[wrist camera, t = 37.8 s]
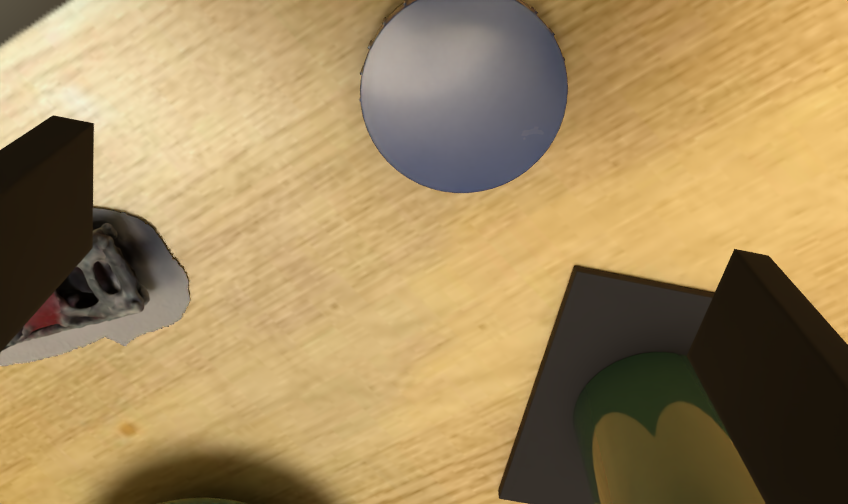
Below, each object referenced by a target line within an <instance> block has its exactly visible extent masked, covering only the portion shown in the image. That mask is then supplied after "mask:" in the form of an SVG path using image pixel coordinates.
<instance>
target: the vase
mask: <svg viewBox="0 0 848 504" xmlns="http://www.w3.org/2000/svg"><path fill="white" fill-rule="evenodd" d="M158 504H246V503H243V502H240V501H235V500H229V499H223V498H209V497H199V498H184V499H177V500H172V501H167V502H161V503H158Z"/></svg>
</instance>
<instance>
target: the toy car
mask: <svg viewBox="0 0 848 504" xmlns="http://www.w3.org/2000/svg"><path fill="white" fill-rule="evenodd" d="M144 223H145V222H143V221H141V220H140V219H138V218H136V217H133V216H129V215H126V213H125V212H122V213H119V212H117V211H114V210H113V211H110V210H106V209H97V208H93V248H92V249H91V251H90V252H89V253H88V254H87V255H86V256H85V257H84V259H83V260H82V261H81V262H80V263H79V264H78V265H77V266H76V268H75V269H74V270H73V271H72V272H71V273H70V274H69V276H68V277H67V278H66V279H65V280H64V281H63V282H62V283H61V285H60V286H59V287H58V288H57V289H56V290H55V291H54V293H53V294H52V295H51V296H50V297H49V298H48V299H47V300H46V302H45V303H44V304H43V305H42V306H41V307H40V308H39V309H38V311H37V312H36V313H35V314H34V315H33V316H32V317H31V319H30V320H29V321H28V322H27V323H26V324H25V325H24V326H23V328H22V329H21V330H20V331H19V332H18V333H17V334H16V336H15V337H14V338H13V339H12V340H11V341H10V342H9V343H8V345H7V346H6V347H5V348H4V349H3V350H2V351H1V353H0V365H1V366H8V365H13V364H14V363H18V364H19V363H27V362H28V363H29V362H31V361H32V362H33V361H37V360H42V359H44V358H49V357H52V356H58V355H61V354H63V353H67V352H70V351H72V350H73V349H78V347H82V348H83V347H85V346H86V345H87V344H91V343H92V342H93V343H94V342H96V341H98V340H99V339H101V338H104V337H106V338H107V339H111V340H114V341H115V342H117V343H120V344H121V345H123V346H126V345H127V344H128V343H129V342H130V341H131V340H134V338H135V337H138V336H139V335H142V334H146V333H147V332H153V331H156V330H158V329H160V328H161V329H162V327H163V326H164V327H169V325H172V324H174V322H177V321H178V320H180V319H181V317H183V316H182V313H185V310H186V307H187V306H188V304H189V302H190V298H189V297H190V296H189V293H188V290H189V289H187V288H189V287H187V286H188V284H189V282H188V279H187V275H186V274H185V273H184V270H183V268H182V267H180V265H178V262H177V261H176V260H175V259H172V256H171V255H170V254H169V251H167V249H166V247H165V245H164V243H163V242H162V239H160V238H159V237H158V235H159V234H156V233H155V230H154V229H153V228H152V227H151V226H150V225H149V224H144Z"/></svg>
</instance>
